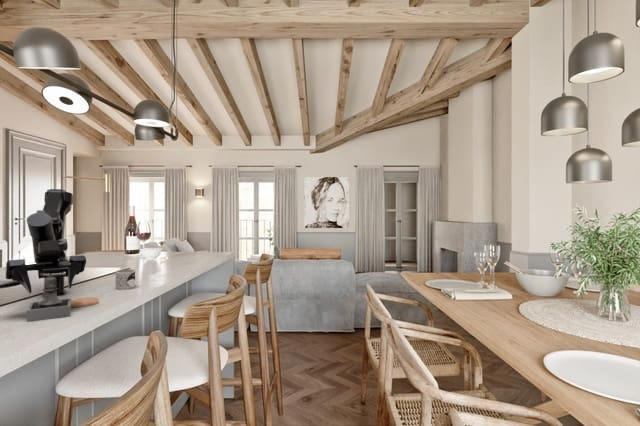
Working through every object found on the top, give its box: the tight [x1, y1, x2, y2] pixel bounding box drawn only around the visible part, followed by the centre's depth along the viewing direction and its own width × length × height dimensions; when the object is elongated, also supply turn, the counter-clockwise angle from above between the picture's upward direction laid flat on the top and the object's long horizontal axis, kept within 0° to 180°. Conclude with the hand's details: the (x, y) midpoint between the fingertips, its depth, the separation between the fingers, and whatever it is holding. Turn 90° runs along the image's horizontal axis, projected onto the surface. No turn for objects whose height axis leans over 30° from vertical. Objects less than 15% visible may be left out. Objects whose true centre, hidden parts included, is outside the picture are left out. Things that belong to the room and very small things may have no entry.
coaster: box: [71, 297, 100, 308], centre depth 116 cm, size 8×8×1 cm
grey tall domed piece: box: [38, 273, 63, 309], centre depth 104 cm, size 6×6×12 cm
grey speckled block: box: [115, 269, 136, 291], centre depth 141 cm, size 10×7×7 cm, turn 5°
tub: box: [26, 298, 72, 323], centre depth 104 cm, size 10×10×3 cm
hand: (51, 289), depth 103 cm, fingers open, 9 cm apart
